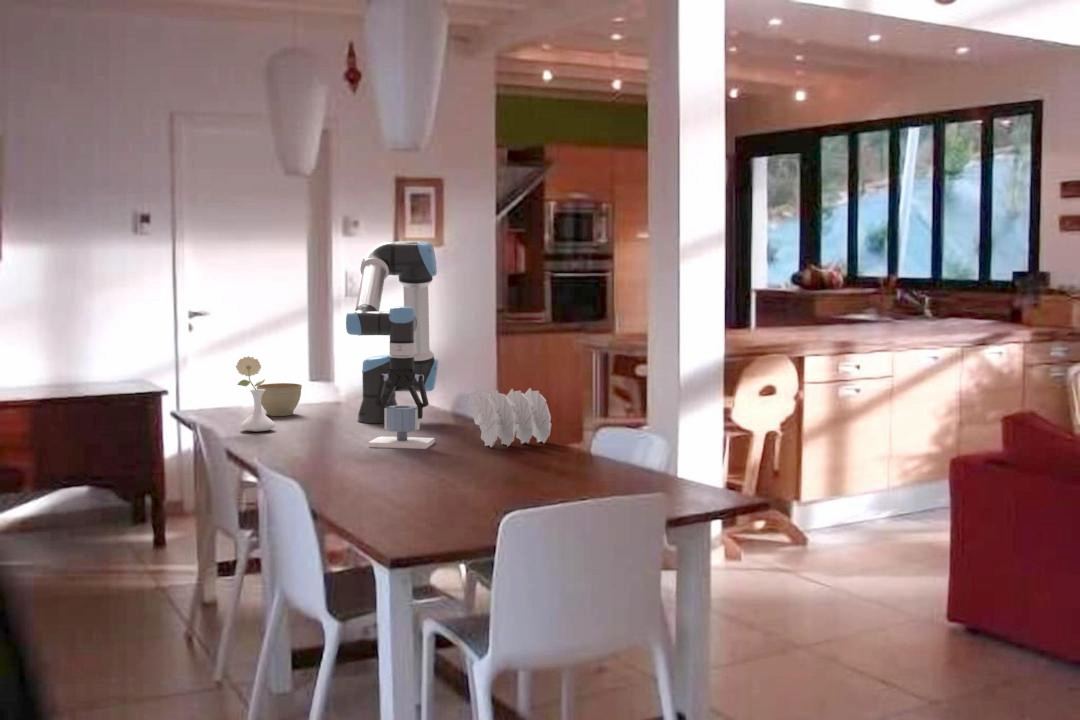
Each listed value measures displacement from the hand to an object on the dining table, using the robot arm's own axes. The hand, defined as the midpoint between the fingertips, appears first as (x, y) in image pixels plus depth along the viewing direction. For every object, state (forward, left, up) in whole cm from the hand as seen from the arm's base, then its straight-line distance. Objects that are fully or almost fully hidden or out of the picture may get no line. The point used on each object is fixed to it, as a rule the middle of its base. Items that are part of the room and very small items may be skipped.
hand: (402, 428), depth 368 cm
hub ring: (0, 0, 0) cm, 0 cm away
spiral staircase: (-6, +34, -5) cm, 35 cm away
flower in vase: (-20, -55, -5) cm, 59 cm away
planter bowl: (-60, -61, -5) cm, 86 cm away
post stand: (0, 0, -5) cm, 5 cm away
